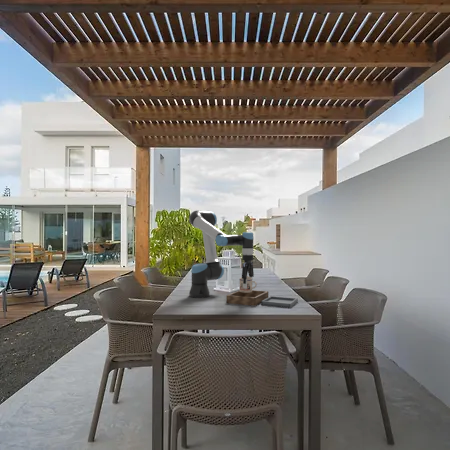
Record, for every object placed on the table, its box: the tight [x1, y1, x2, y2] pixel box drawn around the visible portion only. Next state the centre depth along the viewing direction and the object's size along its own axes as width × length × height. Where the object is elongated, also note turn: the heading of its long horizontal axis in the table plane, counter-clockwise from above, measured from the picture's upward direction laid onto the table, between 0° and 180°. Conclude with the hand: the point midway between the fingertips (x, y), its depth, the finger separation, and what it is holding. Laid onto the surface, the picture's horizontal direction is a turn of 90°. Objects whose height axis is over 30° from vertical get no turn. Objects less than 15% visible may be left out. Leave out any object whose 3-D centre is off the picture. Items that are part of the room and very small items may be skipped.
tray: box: [260, 295, 299, 309], centre depth 226 cm, size 19×19×2 cm
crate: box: [225, 289, 269, 306], centre depth 235 cm, size 20×26×5 cm
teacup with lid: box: [238, 275, 258, 293], centre depth 236 cm, size 12×9×12 cm
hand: (247, 287), depth 236 cm, fingers closed on teacup with lid, 9 cm apart
